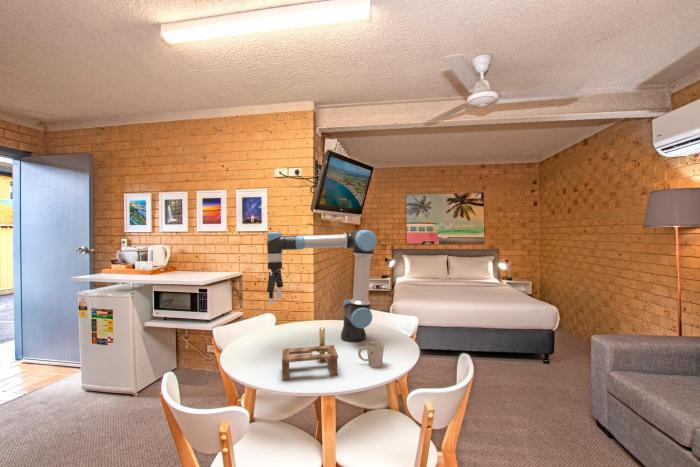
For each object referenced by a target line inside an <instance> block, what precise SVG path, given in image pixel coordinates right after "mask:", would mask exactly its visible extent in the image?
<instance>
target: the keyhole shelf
mask: <svg viewBox="0 0 700 467" xmlns="http://www.w3.org/2000/svg"><path fill="white" fill-rule="evenodd" d="M281 351H282V352H281V354H282V355H281V370H282V371H281V374H282V375H281V376H282V378H281V380H282V381H289V380H290V363H296V362H308V361H320V360H323V359H325V360H327V368H328V371H329V375H330V376H331V377H332V376H338V359H339V355H338V351H337V349H336V347H335V345H334V344H329V345H325V346H320V345H316V346H304V347H290V348H282V350H281ZM316 351H327V352H326V353H325V354H320V353H318V354H317V353H316V354H313V353H312V352H316Z"/></svg>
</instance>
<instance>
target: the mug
mask: <svg viewBox="0 0 700 467" xmlns="http://www.w3.org/2000/svg"><path fill="white" fill-rule="evenodd" d="M365 345H366V346H360V347H359V349H358V351H357V356H358V357H359V359H360V360H362V361H364V362H368V366H369V367H370V368H375V369H377V368H381V367H382V366H383V357H384V349H385V343H384V342H382V341H377V340H375V341H368V342H367V343H366V344H365ZM363 350H366V353H367V358H364V357H363V356H362V355H361V353H362V351H363Z"/></svg>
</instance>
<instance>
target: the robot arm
mask: <svg viewBox="0 0 700 467" xmlns="http://www.w3.org/2000/svg"><path fill="white" fill-rule="evenodd" d="M266 236H267V237H266V238H267V239H266V246H267V255H266V257H267V269H268V270H270V271H268V279H267V280H268V281H267V288H266V292H267V293H268V305H270V306H273V305H275V304H276V303H275V287H276V300H282V299H283V294H282V292H283V290H282V288H283V287H284V282H283V278H282V269H283V262H282V261H283V251H285V250H286V251H290V250H292V251H293V250H294V251H299V250H305V249H322V248H324V249H327V248H344V249H352V254H353V255H354V274H353V289H352V290H353V293H352V298H351V299H345V300H344V301H343V305H342V306H343V326H342V330H341V332H340V340H342V341H344V342H351V343H355V342H356V341H358V342H362V340H363V341H365V340H366V339H367V333H366V330H365V328H368V326H369V325H370V324H372V321H373V314H372V311H371V302H370V300H369V290H370V274H371V273H370V272H371V260H372V259H371V258H372V257H373V255H374V252H375V251H374V250H375V248H376V246H377V243H378V239H377V237H376V234H375V233H374V232H373V231H371V230H369V229H359V230H355V231H348V232H346V231H345V232H343V233H341V234H340V233H339V234H311V235H310V234H309V235H306V234H305V235H283V234H282V232H276V231H275V232H268V233H267V235H266ZM275 285H276V286H275ZM364 339H365V340H364ZM356 343H357V342H356Z"/></svg>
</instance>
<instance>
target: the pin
mask: <svg viewBox="0 0 700 467" xmlns="http://www.w3.org/2000/svg"><path fill="white" fill-rule="evenodd" d="M325 330H326V328H325V327H319V346H326V331H325ZM315 352H316V353H318V354H326V353H327V351H315ZM319 362H321V363H324V362H326V359H323V360H319Z"/></svg>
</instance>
